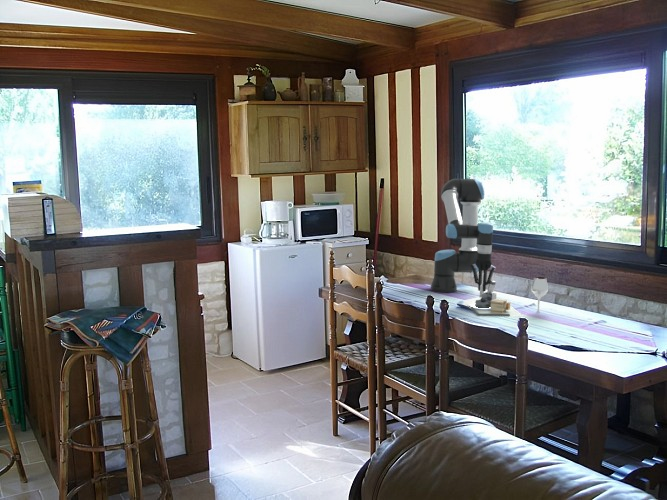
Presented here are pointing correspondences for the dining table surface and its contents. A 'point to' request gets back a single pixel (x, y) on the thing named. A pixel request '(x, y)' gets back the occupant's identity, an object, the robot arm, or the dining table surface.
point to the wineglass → (539, 288)
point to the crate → (498, 306)
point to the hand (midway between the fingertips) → (481, 296)
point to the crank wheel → (488, 301)
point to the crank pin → (491, 287)
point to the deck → (508, 313)
